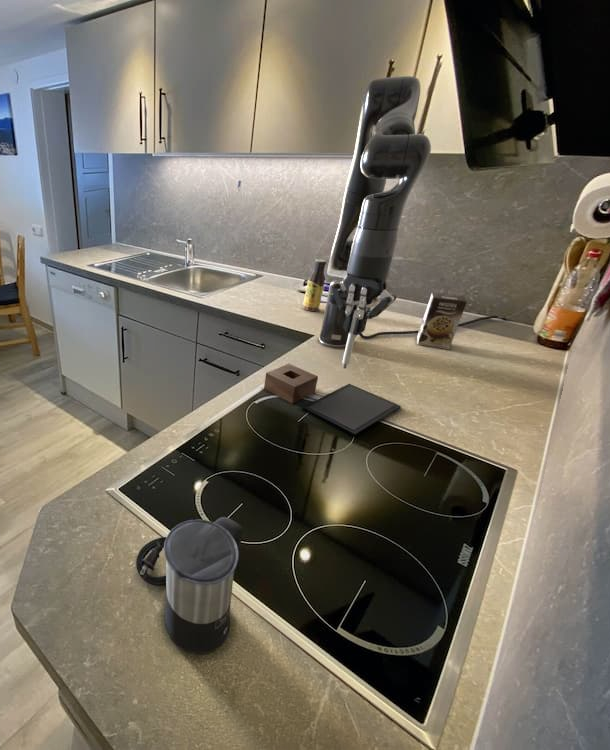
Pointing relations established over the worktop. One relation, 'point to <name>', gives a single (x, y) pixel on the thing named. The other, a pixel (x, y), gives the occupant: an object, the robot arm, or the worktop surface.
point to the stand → (290, 383)
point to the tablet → (351, 409)
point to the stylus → (350, 340)
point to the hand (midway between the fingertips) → (352, 332)
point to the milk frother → (196, 580)
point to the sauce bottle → (315, 286)
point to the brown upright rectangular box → (441, 320)
